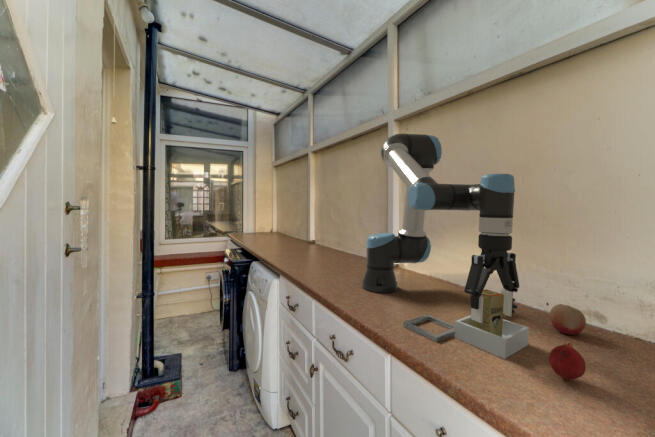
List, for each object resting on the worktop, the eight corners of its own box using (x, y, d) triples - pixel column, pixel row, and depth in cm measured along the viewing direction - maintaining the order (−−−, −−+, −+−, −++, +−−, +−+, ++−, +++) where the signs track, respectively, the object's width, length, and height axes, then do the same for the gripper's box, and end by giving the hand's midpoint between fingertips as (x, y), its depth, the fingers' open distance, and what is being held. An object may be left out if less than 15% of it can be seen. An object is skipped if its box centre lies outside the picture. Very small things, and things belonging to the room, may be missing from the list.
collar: (402, 326, 83) (403, 322, 83) (427, 318, 90) (427, 314, 89) (436, 342, 74) (436, 337, 74) (461, 331, 80) (461, 327, 80)
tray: (454, 337, 76) (455, 320, 76) (479, 326, 83) (480, 311, 83) (504, 359, 66) (505, 339, 66) (528, 344, 73) (529, 327, 73)
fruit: (593, 338, 77) (595, 309, 77) (568, 340, 76) (570, 311, 75) (564, 325, 85) (565, 299, 85) (541, 327, 84) (543, 300, 83)
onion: (574, 392, 55) (576, 351, 54) (541, 375, 60) (543, 338, 59) (590, 384, 57) (593, 345, 56) (557, 369, 62) (559, 333, 62)
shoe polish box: (472, 334, 77) (473, 291, 76) (484, 331, 79) (486, 289, 78) (488, 343, 72) (490, 297, 72) (501, 339, 74) (503, 294, 74)
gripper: (476, 237, 65) (472, 330, 66) (538, 234, 74) (534, 316, 76) (450, 233, 72) (447, 318, 73) (510, 231, 81) (506, 306, 82)
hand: (491, 317), depth 74 cm, fingers open, 10 cm apart
